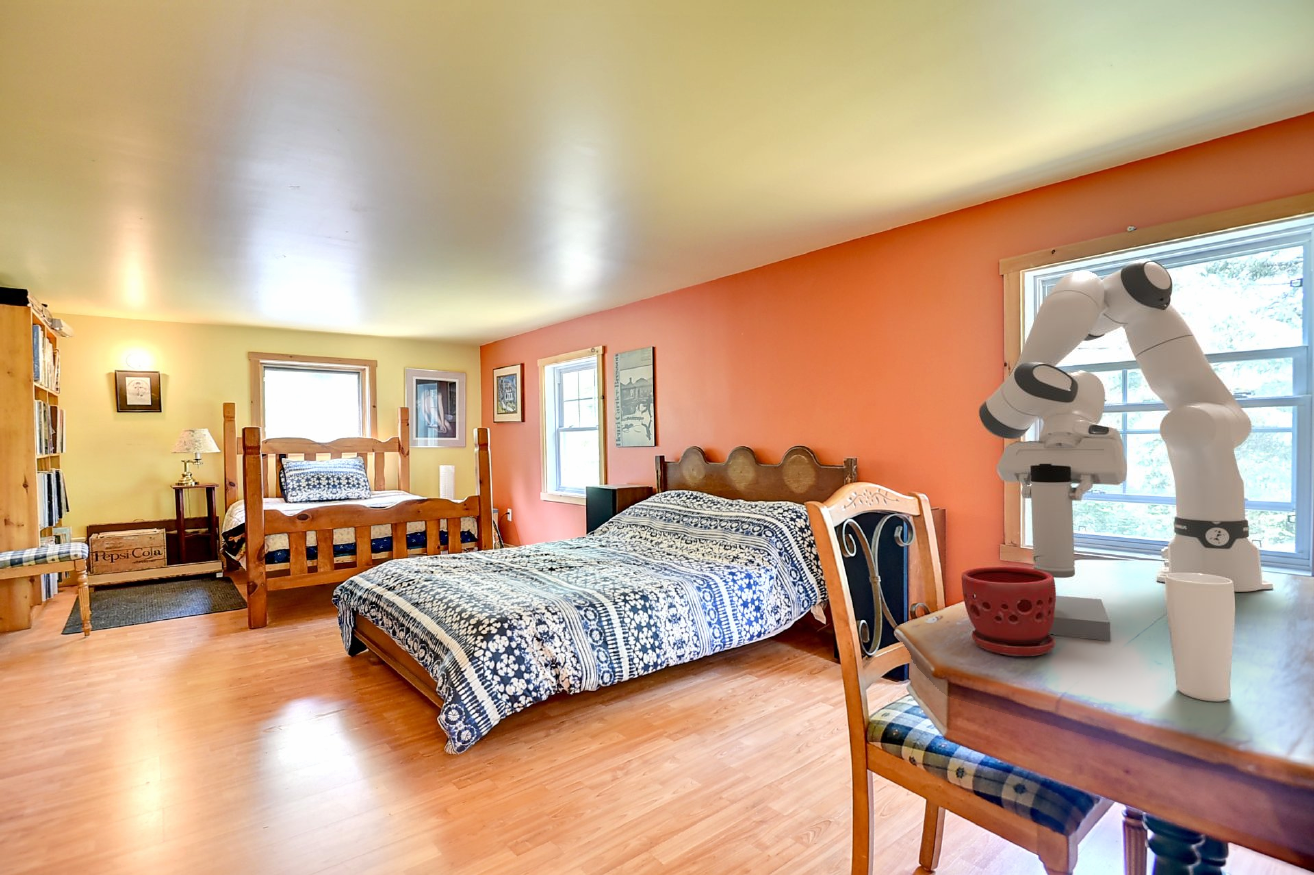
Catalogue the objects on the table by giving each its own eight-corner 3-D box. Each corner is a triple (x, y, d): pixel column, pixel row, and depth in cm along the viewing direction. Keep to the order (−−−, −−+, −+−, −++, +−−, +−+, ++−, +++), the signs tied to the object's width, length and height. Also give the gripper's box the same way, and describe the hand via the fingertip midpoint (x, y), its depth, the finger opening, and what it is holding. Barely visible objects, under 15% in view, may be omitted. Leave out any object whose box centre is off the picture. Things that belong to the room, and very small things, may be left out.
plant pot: (1013, 632, 109) (1010, 562, 109) (1079, 657, 96) (1076, 578, 96) (946, 639, 106) (943, 568, 106) (1005, 666, 93) (1002, 585, 93)
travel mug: (1028, 575, 113) (1024, 463, 113) (1039, 569, 118) (1035, 461, 118) (1069, 580, 109) (1064, 464, 109) (1079, 573, 113) (1075, 461, 113)
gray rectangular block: (1014, 607, 123) (1013, 592, 123) (1101, 615, 116) (1101, 599, 116) (1011, 630, 110) (1011, 613, 110) (1110, 641, 102) (1109, 622, 102)
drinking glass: (1245, 696, 80) (1240, 577, 80) (1230, 710, 76) (1225, 586, 76) (1178, 680, 86) (1174, 570, 86) (1161, 693, 82) (1156, 578, 82)
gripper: (1002, 431, 126) (983, 484, 119) (1127, 427, 110) (1113, 488, 104) (1012, 452, 129) (994, 505, 122) (1135, 452, 113) (1122, 512, 107)
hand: (1050, 497), depth 113 cm, fingers closed on travel mug, 6 cm apart
